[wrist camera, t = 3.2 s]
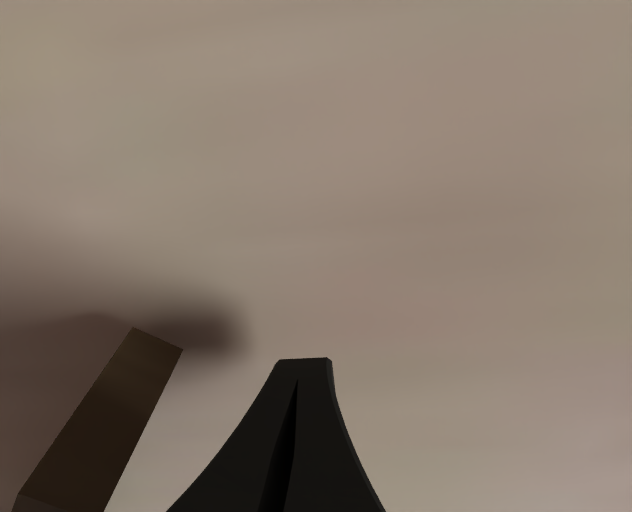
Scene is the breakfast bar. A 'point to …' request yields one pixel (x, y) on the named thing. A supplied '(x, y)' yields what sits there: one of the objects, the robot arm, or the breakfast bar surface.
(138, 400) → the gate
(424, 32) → the breakfast bar surface
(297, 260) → the breakfast bar surface
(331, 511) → the robot arm
